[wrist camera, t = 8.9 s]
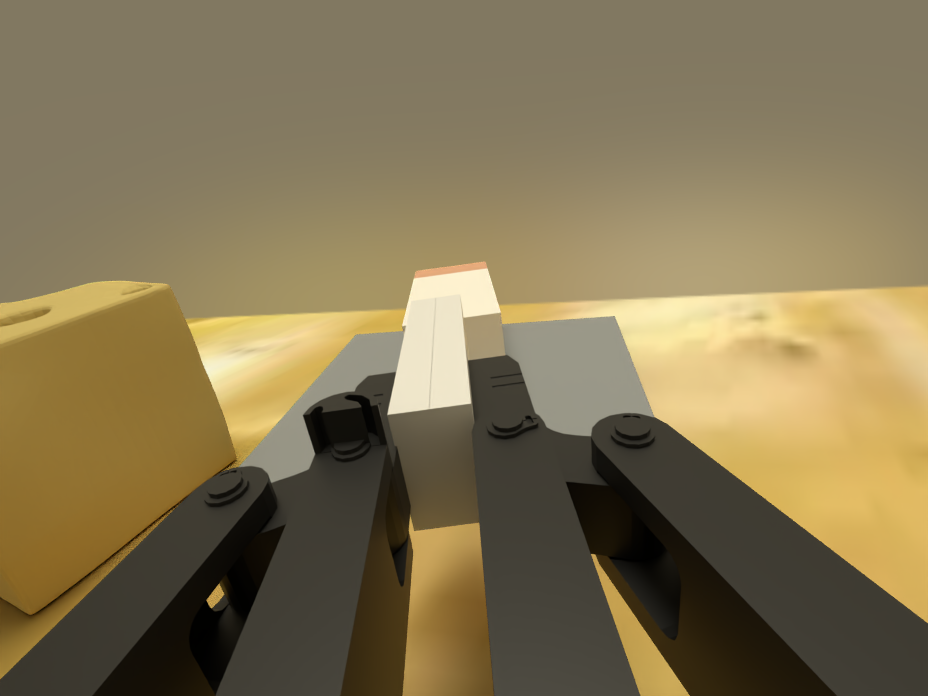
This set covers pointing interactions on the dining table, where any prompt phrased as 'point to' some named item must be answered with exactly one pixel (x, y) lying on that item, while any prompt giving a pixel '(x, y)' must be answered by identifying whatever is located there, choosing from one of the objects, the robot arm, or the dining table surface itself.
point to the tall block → (466, 304)
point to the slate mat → (530, 344)
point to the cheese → (96, 429)
